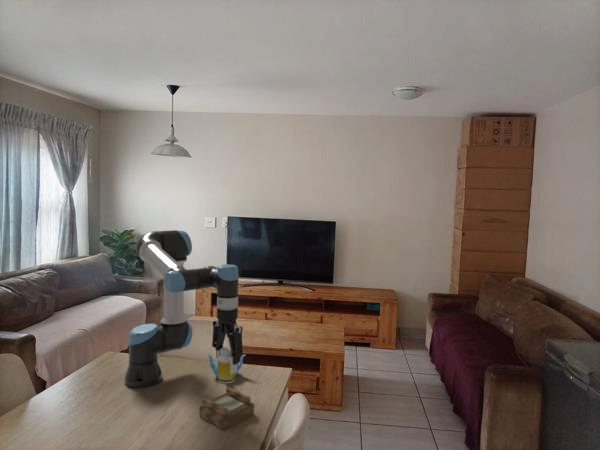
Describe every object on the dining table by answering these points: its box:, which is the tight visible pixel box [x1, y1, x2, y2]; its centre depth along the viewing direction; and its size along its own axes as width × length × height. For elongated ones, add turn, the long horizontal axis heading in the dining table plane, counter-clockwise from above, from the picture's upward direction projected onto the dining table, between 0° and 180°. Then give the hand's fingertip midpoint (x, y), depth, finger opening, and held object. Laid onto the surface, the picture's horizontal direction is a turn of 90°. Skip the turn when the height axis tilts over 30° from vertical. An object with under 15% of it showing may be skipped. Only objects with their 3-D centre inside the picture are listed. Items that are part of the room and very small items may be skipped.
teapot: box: [206, 353, 246, 380], centre depth 181 cm, size 13×13×10 cm
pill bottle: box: [217, 346, 237, 384], centre depth 148 cm, size 6×6×12 cm
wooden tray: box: [198, 387, 255, 431], centre depth 149 cm, size 14×14×6 cm
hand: (226, 369), depth 148 cm, fingers closed on pill bottle, 6 cm apart
